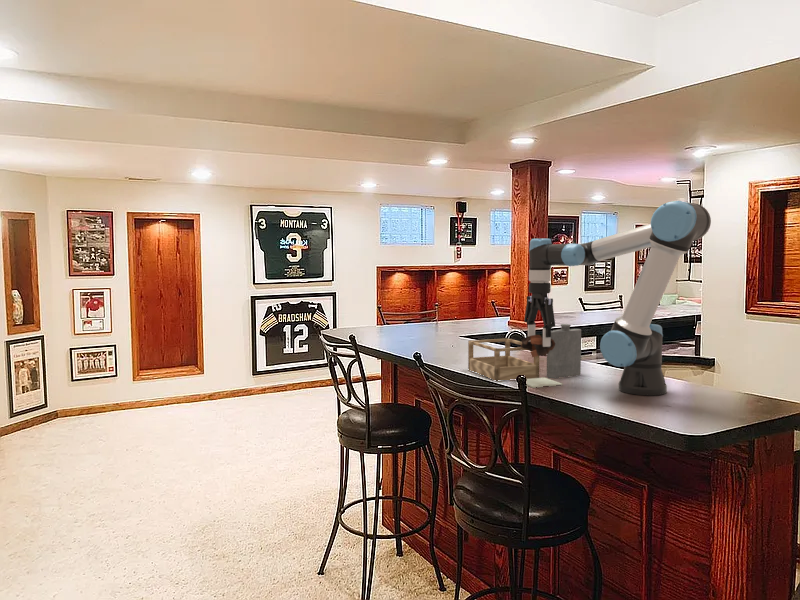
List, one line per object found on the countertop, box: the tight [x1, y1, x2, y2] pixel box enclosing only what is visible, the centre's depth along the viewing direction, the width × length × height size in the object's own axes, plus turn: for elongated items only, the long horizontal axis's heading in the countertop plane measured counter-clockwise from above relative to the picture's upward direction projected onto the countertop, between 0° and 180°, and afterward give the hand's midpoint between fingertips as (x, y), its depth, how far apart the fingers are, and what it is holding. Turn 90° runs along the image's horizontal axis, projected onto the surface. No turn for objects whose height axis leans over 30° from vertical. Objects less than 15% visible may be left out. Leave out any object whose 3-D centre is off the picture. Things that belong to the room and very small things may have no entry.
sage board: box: [526, 376, 564, 389], centre depth 222 cm, size 12×12×1 cm
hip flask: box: [546, 323, 582, 379], centre depth 234 cm, size 16×4×20 cm, turn 118°
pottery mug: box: [520, 334, 555, 358], centre depth 220 cm, size 12×10×8 cm
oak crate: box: [467, 337, 540, 382], centre depth 239 cm, size 24×18×12 cm
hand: (538, 344), depth 221 cm, fingers closed on pottery mug, 9 cm apart
